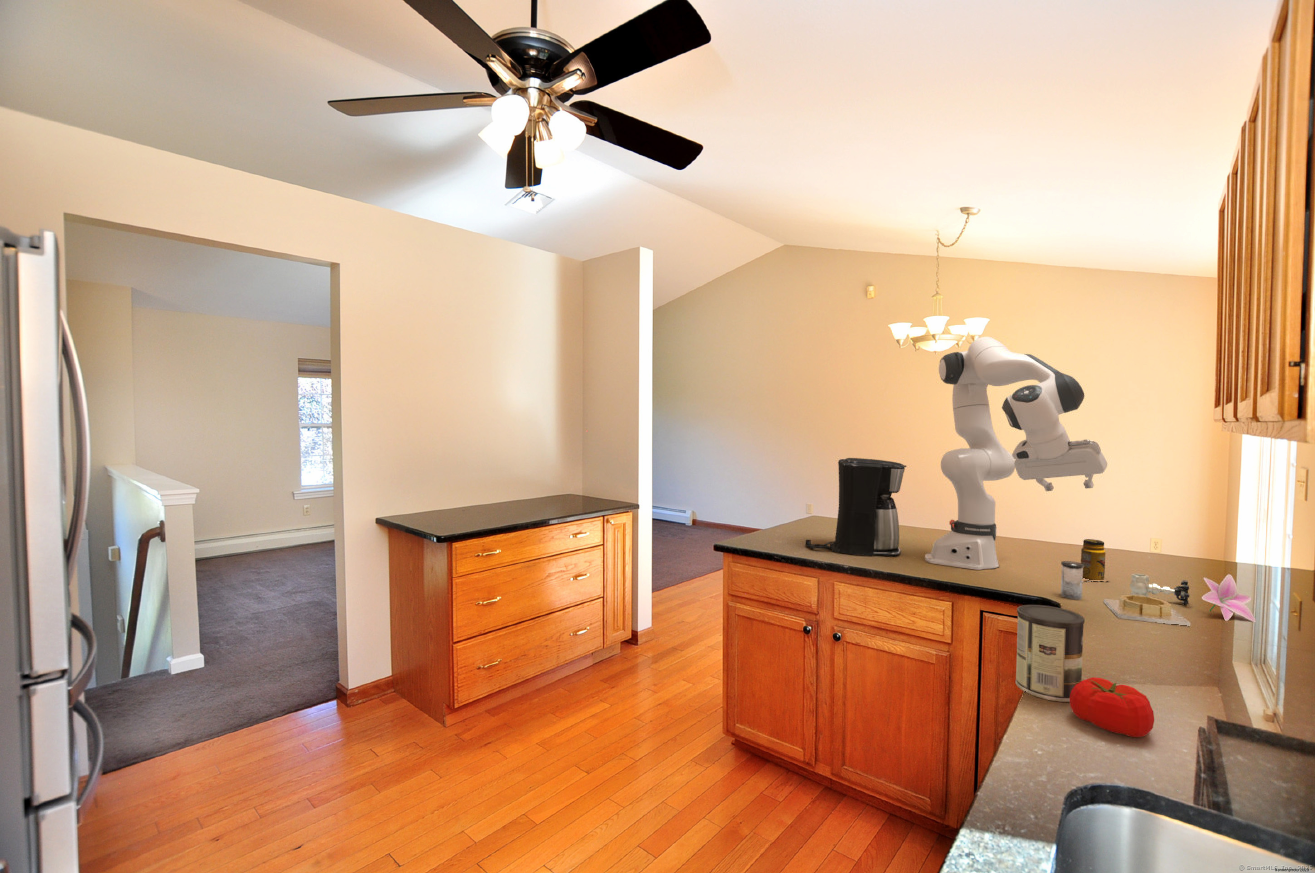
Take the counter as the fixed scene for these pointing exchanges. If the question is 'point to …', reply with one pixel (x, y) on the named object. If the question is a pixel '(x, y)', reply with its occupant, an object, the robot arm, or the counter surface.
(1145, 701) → the tomato
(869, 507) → the coffee maker
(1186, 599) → the valve
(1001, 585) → the counter surface
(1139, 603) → the flange
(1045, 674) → the coffee can
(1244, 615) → the lily
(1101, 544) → the condiment
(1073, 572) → the black-capped jar
